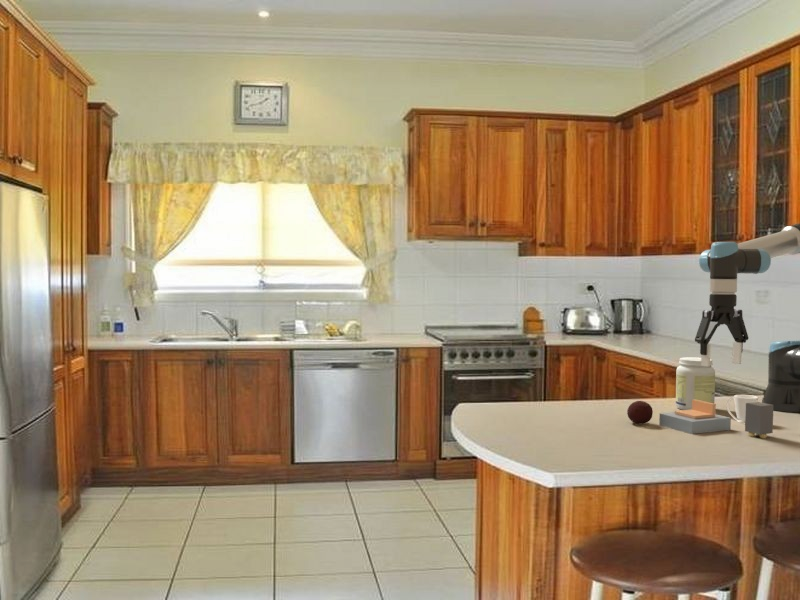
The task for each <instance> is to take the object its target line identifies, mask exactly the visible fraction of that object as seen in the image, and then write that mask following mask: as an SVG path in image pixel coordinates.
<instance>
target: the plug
mask: <svg viewBox="0 0 800 600" xmlns="http://www.w3.org/2000/svg"><path fill="white" fill-rule="evenodd" d="M744 425H745V426H744V427H745V428H744V432H748V437H755V436H759V438H761V439H766V438H767V435H769V434H773V433H774V432H773V431H774V430H773V429H774V428H773V427H774V410H773V405H771V404H766V403H762V401H758V402H752V403H746V417H745V424H744Z"/></svg>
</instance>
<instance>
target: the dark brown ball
mask: <svg viewBox="0 0 800 600" xmlns="http://www.w3.org/2000/svg"><path fill="white" fill-rule="evenodd" d="M653 412H654V410H653V407H652V406H651V404H650V403H648V402H647V401H643V400H637V401H634V402H631V404H630V405H628V407H627V413H626V414H627V417H628V419H629V420H630V421H631V422H632V423H634V424H637V425H643V424H646V423H648V422H650V420H652V417H653Z"/></svg>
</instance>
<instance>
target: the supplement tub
mask: <svg viewBox="0 0 800 600" xmlns="http://www.w3.org/2000/svg"><path fill="white" fill-rule="evenodd" d="M678 364H679V366H677V368H676V371H675V373H676V374H675V375H676V376H675V379H676V380H675V407H676V408H677V409H679V410H680V411H681V410H692V400H700V401H704V402H709V403H714V404H715V398H716V397H715V396H716V395H715V391H716V388H715V387H716V370H715V369H714V367H712V366H713V359H711V358H710V366H709V367H708V366H702V365H701V357H698V356H697V357H694V356H691V357H690V356H689V357H687V356H686V357H680V358H679V361H678Z"/></svg>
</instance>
